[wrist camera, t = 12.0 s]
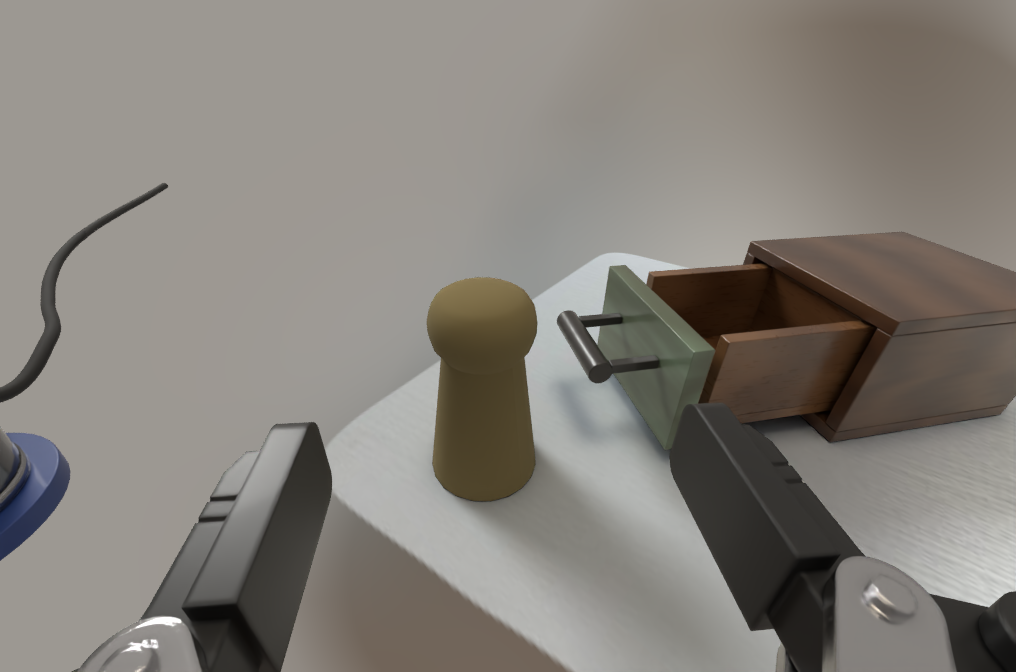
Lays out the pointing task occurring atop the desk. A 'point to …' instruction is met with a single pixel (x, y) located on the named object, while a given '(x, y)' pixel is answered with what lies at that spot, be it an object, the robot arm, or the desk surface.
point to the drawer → (719, 343)
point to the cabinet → (909, 328)
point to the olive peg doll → (482, 387)
